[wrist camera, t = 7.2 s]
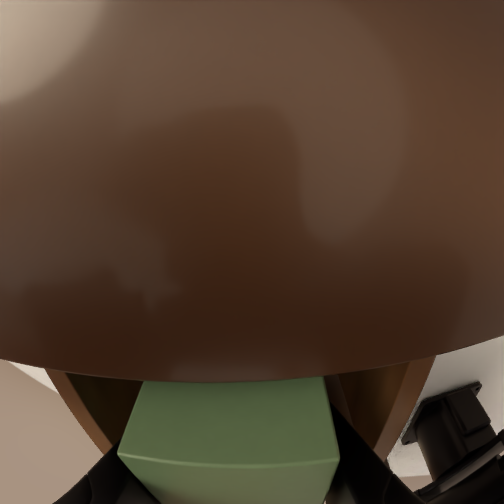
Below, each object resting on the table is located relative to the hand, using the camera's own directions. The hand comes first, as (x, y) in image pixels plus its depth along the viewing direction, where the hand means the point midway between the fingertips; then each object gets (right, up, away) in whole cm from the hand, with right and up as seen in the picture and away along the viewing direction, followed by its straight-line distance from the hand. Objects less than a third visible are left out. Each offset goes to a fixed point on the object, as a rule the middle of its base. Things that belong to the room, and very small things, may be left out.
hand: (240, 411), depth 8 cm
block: (0, 0, +1) cm, 1 cm away
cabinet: (-1, +13, +2) cm, 13 cm away
